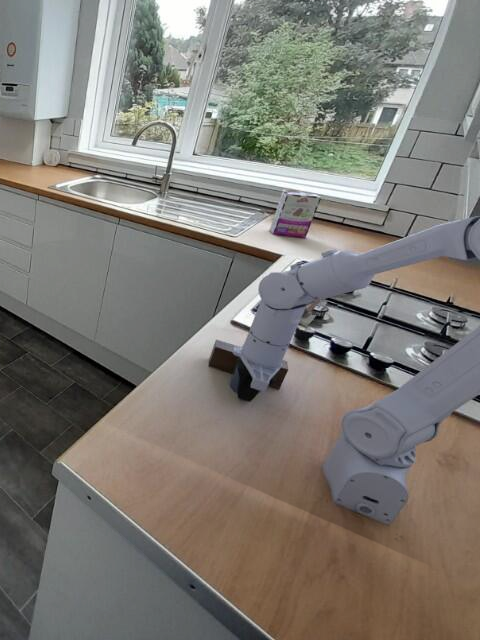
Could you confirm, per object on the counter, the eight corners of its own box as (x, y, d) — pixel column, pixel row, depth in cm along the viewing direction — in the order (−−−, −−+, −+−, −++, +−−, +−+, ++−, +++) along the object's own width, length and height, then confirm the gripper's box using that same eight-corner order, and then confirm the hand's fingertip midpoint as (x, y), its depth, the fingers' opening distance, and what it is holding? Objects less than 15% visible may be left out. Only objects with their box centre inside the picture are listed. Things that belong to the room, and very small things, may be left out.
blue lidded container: (252, 407, 76) (272, 378, 70) (225, 398, 78) (242, 368, 72) (255, 373, 81) (273, 342, 75) (229, 365, 83) (245, 334, 77)
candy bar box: (300, 234, 161) (316, 193, 154) (305, 238, 157) (322, 197, 150) (268, 230, 164) (282, 190, 157) (272, 234, 160) (287, 193, 153)
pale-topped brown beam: (277, 394, 78) (288, 369, 75) (206, 370, 83) (215, 346, 81) (276, 385, 80) (287, 361, 78) (207, 362, 86) (216, 339, 83)
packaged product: (289, 275, 115) (333, 290, 108) (283, 290, 117) (326, 305, 110) (267, 294, 104) (314, 311, 97) (260, 310, 106) (306, 328, 99)
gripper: (242, 309, 76) (220, 367, 82) (241, 349, 65) (216, 413, 71) (287, 322, 73) (262, 381, 79) (295, 366, 62) (264, 431, 67)
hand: (243, 397), depth 74 cm, fingers closed, pressing on blue lidded container
